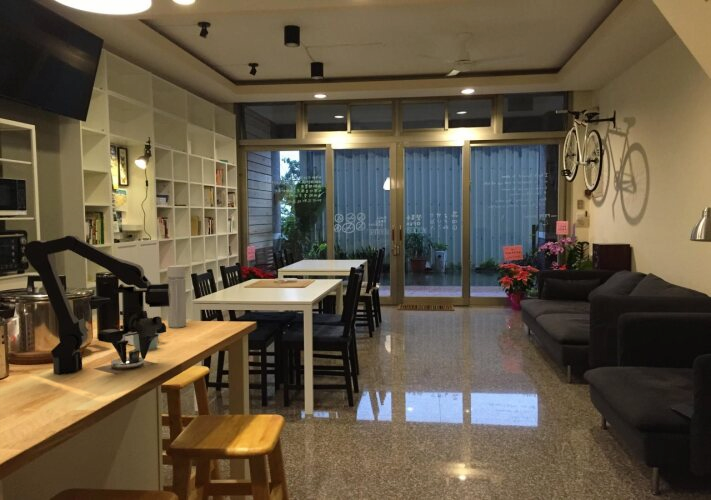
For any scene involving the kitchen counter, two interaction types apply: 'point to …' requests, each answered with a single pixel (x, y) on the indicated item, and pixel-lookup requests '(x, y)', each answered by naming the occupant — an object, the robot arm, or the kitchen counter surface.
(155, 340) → the cup
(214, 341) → the kitchen counter surface
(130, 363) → the handwheel
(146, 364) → the board
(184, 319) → the water bottle
